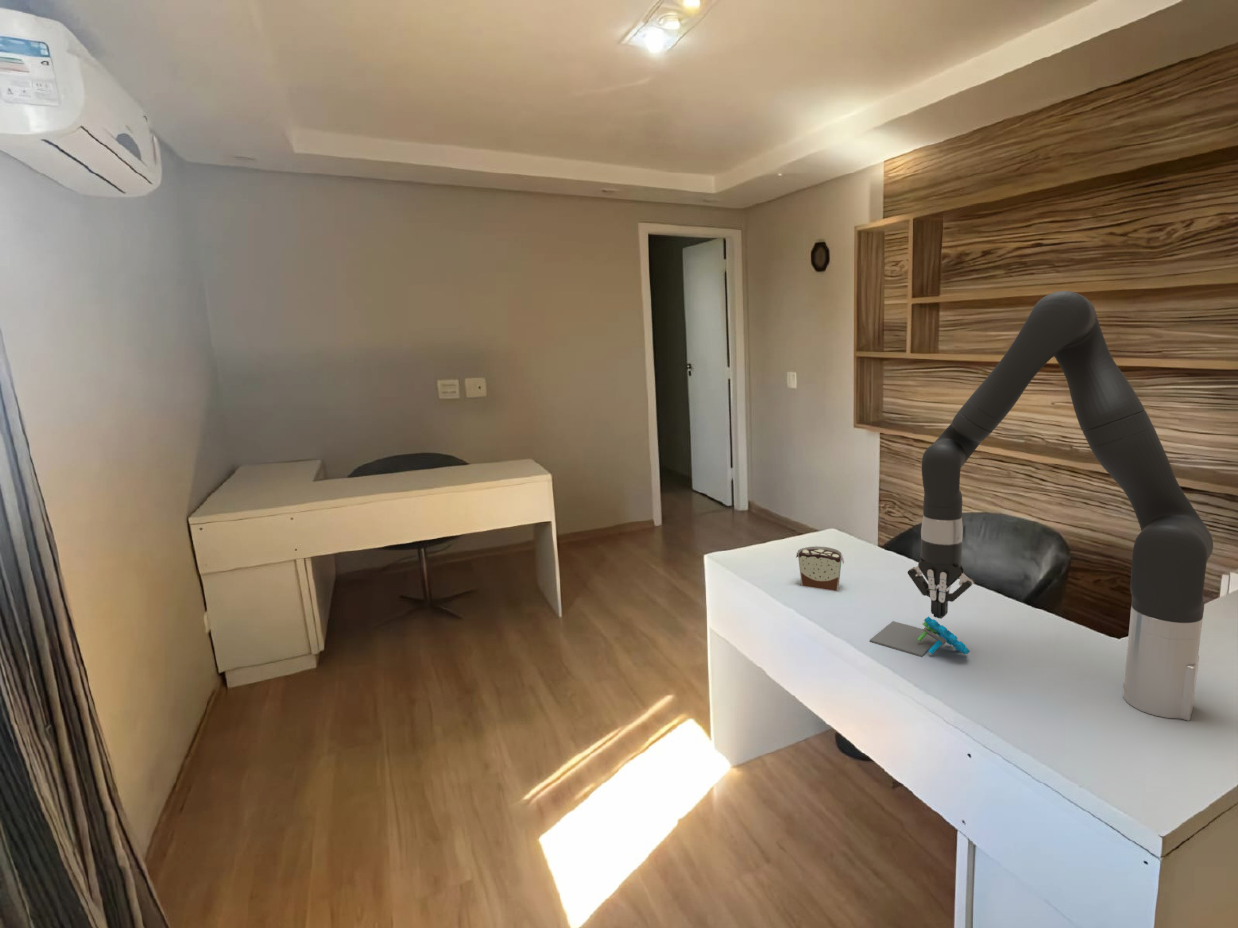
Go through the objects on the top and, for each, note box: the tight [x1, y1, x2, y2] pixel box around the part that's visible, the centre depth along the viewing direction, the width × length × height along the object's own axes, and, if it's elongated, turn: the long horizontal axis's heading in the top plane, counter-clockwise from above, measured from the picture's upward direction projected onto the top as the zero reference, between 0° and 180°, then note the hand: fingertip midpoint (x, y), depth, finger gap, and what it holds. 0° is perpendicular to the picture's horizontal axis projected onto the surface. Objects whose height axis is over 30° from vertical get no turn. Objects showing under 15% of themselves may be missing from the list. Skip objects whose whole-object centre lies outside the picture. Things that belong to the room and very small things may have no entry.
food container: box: [795, 545, 845, 593], centre depth 171 cm, size 12×6×10 cm, turn 58°
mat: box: [869, 620, 939, 658], centre depth 140 cm, size 11×12×1 cm
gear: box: [917, 616, 971, 655], centre depth 133 cm, size 11×6×10 cm
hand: (938, 616), depth 134 cm, fingers closed
